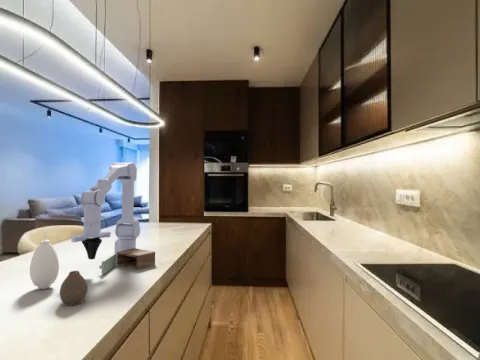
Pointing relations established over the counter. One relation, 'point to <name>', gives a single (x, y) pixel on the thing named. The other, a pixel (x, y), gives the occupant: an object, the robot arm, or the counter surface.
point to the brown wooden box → (136, 258)
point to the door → (108, 263)
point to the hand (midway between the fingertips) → (91, 258)
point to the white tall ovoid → (44, 265)
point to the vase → (73, 289)
